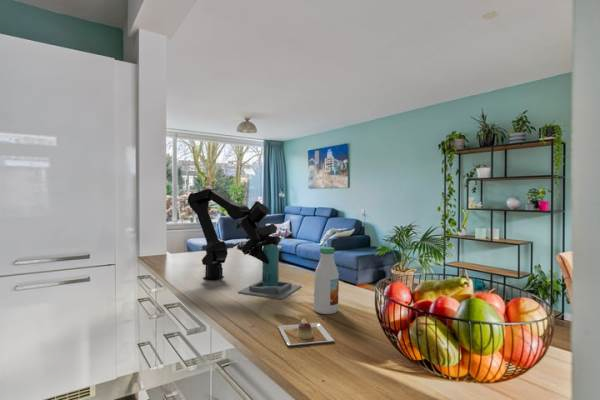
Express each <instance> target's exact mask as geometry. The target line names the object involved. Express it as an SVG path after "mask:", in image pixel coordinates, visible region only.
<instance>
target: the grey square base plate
mask: <svg viewBox="0 0 600 400" xmlns="http://www.w3.org/2000/svg"><path fill="white" fill-rule="evenodd" d="M300 288H302V285H298V284H292V282H289V281H288V282H287V281H281V280H279V283H278V285H277V286H264V285H263V284H262V279H261V280H260V281H258V282H255V283H253V284H250V285H249V286H247V287H245V288H243V289H240V290H239V291H237V293H238V294H242V295H248V296H256V297H263V298H269V299H274V300H275V299H276V300H282V301H283V300H284V299H285V298H287V297H289V296H290V295H291V294H293V293H295V292H296V291H298V290H299V289H300Z"/></svg>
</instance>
